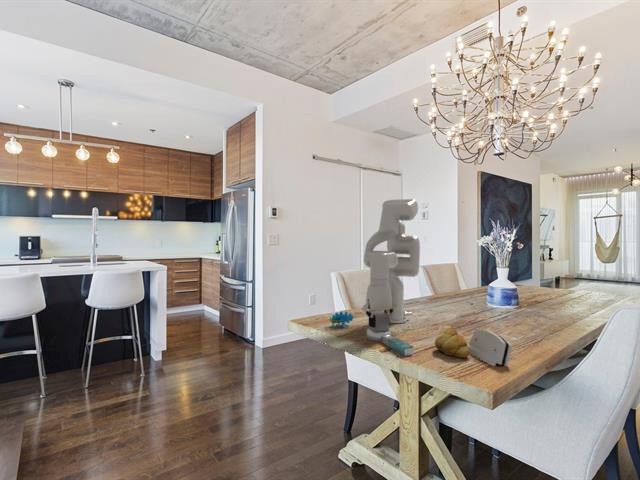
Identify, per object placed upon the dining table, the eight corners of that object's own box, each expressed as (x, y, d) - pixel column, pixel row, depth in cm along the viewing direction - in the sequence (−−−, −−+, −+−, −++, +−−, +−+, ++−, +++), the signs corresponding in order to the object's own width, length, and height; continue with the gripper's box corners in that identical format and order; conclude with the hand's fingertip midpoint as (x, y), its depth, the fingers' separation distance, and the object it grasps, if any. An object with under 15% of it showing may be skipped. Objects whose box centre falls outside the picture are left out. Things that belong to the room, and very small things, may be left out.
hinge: (463, 349, 125) (472, 324, 125) (474, 353, 125) (482, 327, 126) (494, 367, 108) (503, 337, 109) (506, 371, 109) (516, 342, 109)
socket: (381, 327, 142) (381, 310, 142) (388, 331, 137) (388, 314, 136) (368, 328, 140) (368, 311, 140) (375, 332, 135) (375, 315, 134)
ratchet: (383, 333, 144) (383, 314, 144) (420, 353, 120) (421, 331, 120) (362, 335, 141) (362, 316, 141) (396, 356, 117) (397, 334, 116)
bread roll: (476, 359, 116) (476, 335, 115) (451, 361, 113) (451, 337, 113) (452, 346, 128) (452, 325, 128) (429, 348, 126) (430, 327, 125)
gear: (354, 320, 159) (351, 309, 152) (355, 331, 155) (352, 320, 148) (331, 322, 160) (327, 311, 153) (331, 334, 156) (327, 323, 149)
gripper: (392, 280, 144) (392, 321, 145) (356, 282, 138) (356, 325, 139) (402, 282, 137) (402, 326, 138) (364, 284, 131) (364, 330, 132)
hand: (379, 325), depth 138 cm, fingers closed on socket, 6 cm apart
